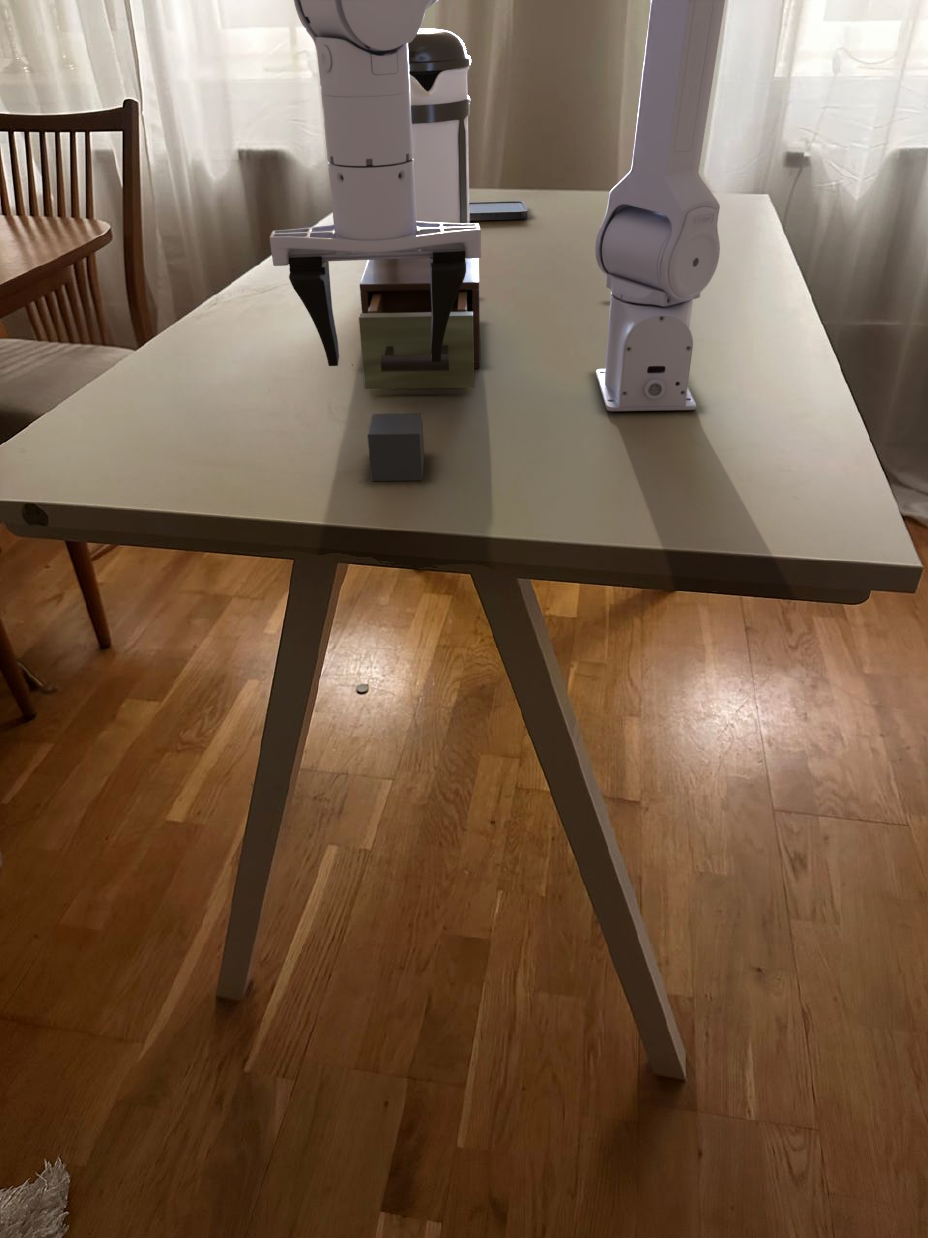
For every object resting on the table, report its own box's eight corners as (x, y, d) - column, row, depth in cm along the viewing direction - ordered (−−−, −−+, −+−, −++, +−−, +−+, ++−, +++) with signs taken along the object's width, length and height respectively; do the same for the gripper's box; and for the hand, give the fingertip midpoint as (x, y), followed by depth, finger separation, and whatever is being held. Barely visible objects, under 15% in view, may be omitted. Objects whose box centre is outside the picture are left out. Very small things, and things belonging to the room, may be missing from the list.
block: (422, 480, 71) (419, 433, 69) (371, 481, 71) (367, 434, 69) (424, 458, 75) (422, 412, 72) (376, 459, 75) (372, 413, 72)
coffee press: (510, 285, 114) (512, -5, 96) (435, 319, 103) (423, 1, 86) (400, 266, 122) (384, -4, 104) (321, 297, 111) (288, 2, 94)
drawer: (474, 405, 81) (472, 331, 77) (360, 407, 81) (353, 333, 77) (473, 342, 94) (472, 276, 91) (376, 344, 95) (371, 278, 91)
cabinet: (480, 368, 91) (479, 281, 86) (366, 369, 91) (359, 284, 86) (479, 324, 102) (478, 246, 97) (378, 326, 102) (372, 248, 97)
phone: (528, 211, 142) (432, 213, 142) (528, 218, 143) (433, 221, 142) (523, 200, 148) (432, 203, 148) (523, 207, 149) (432, 210, 149)
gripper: (474, 146, 64) (476, 337, 72) (267, 153, 63) (293, 345, 71) (482, 164, 58) (484, 369, 66) (255, 171, 58) (284, 378, 66)
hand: (385, 359), depth 68 cm, fingers open, 7 cm apart
